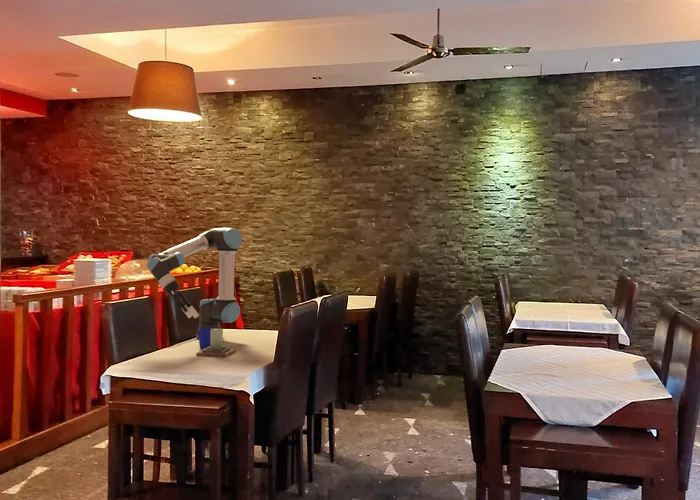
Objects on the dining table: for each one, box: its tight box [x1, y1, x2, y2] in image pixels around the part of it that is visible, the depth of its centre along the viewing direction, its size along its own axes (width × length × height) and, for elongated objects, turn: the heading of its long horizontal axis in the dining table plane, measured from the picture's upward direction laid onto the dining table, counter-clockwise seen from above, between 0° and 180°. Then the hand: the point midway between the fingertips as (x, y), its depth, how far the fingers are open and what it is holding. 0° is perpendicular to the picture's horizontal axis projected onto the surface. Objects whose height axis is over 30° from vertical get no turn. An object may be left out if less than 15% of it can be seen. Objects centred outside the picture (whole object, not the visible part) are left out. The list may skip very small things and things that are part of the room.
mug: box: [198, 328, 213, 349], centre depth 327 cm, size 8×12×10 cm
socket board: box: [195, 346, 237, 358], centre depth 307 cm, size 15×15×3 cm
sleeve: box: [210, 328, 224, 350], centre depth 307 cm, size 6×6×11 cm
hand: (194, 316), depth 311 cm, fingers open, 13 cm apart
